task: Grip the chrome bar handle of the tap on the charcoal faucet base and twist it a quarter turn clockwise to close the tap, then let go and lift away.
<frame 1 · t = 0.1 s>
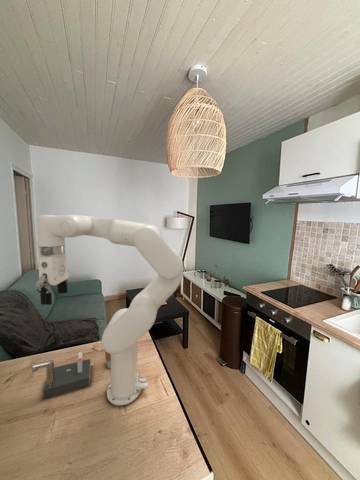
hand: (55, 298, 69), 37 cm above the table, tool pointing down, fingers open, 9 cm apart
coffee cup: (113, 363, 88), on the table
tap handle: (80, 361, 80), point 6 cm above the table, hinge at 90.0°
spout: (43, 374, 71), on the faucet base, point 8 cm above the table
faucet base: (69, 380, 78), on the table
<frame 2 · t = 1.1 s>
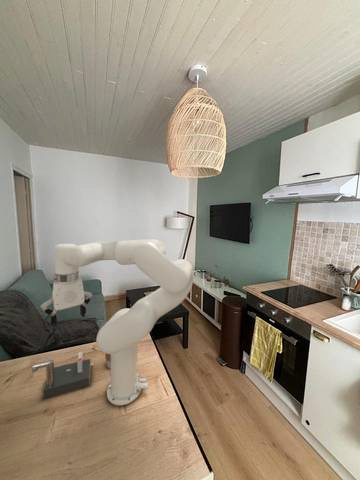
hand: (69, 319, 75), 26 cm above the table, tool pointing down, fingers open, 9 cm apart
nothing on the table moved.
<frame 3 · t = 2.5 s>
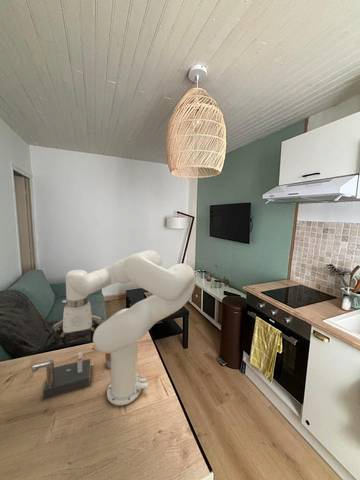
hand: (78, 341, 79), 15 cm above the table, tool pointing down, fingers open, 9 cm apart
nothing on the table moved.
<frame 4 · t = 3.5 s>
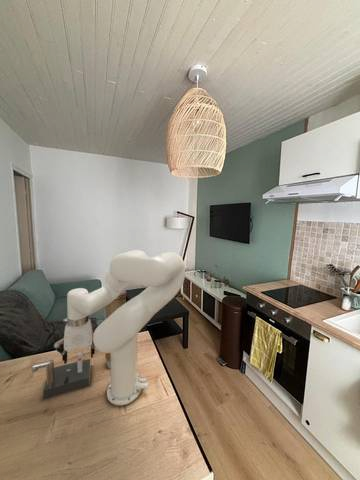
hand: (79, 358, 80), 7 cm above the table, tool pointing down, fingers open, 9 cm apart
nothing on the table moved.
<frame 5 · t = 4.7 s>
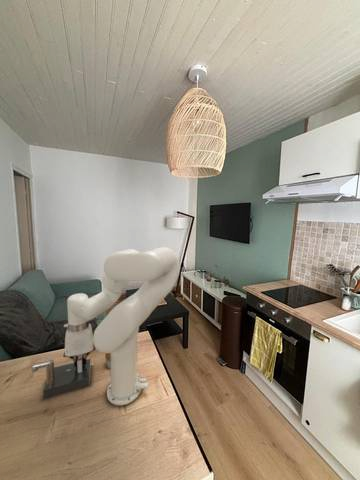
hand: (80, 366, 80), 4 cm above the table, tool pointing down, fingers closed on tap handle
tap handle: (80, 361, 80), point 6 cm above the table, hinge at 89.9°, touching gripper
everything else where it was.
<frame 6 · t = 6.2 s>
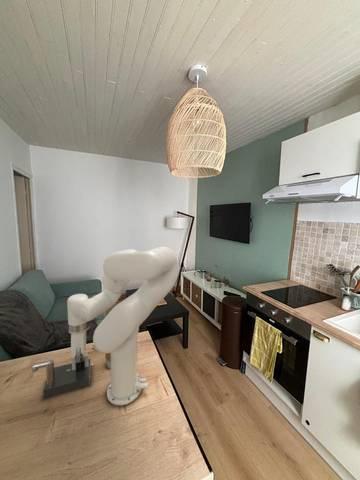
hand: (80, 366, 80), 4 cm above the table, tool pointing down, fingers closed
tap handle: (80, 361, 80), point 6 cm above the table, hinge at 0.0°
everything else where it was.
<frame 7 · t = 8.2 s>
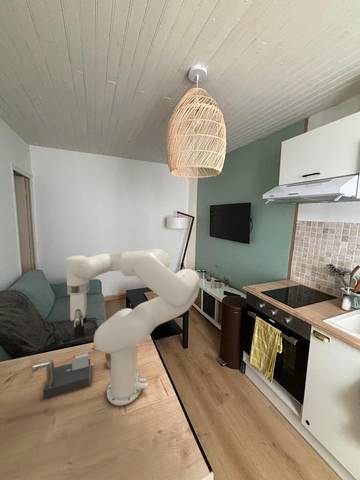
hand: (81, 329, 77), 21 cm above the table, tool pointing down, fingers open, 9 cm apart
nothing on the table moved.
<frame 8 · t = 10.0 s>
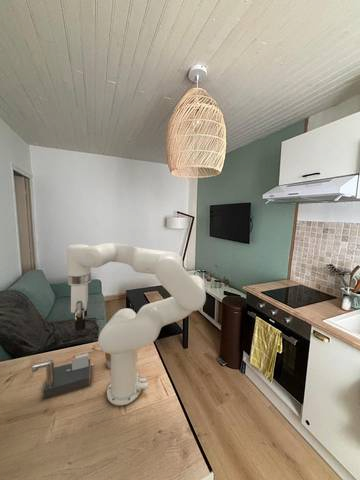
hand: (81, 322, 72), 26 cm above the table, tool pointing down, fingers open, 9 cm apart
nothing on the table moved.
at the end: tap handle at +0° (first picture: +90°); the gripper is holding nothing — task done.
